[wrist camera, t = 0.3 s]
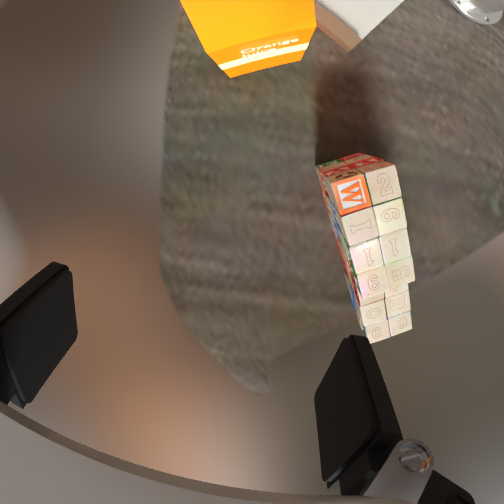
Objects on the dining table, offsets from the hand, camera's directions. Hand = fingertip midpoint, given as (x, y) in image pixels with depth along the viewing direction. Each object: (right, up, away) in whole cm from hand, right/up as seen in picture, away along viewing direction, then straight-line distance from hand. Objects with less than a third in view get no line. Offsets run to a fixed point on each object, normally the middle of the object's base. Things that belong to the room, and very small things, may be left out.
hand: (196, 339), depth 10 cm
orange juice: (+2, +28, +22) cm, 35 cm away
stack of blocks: (+16, +5, +31) cm, 35 cm away
